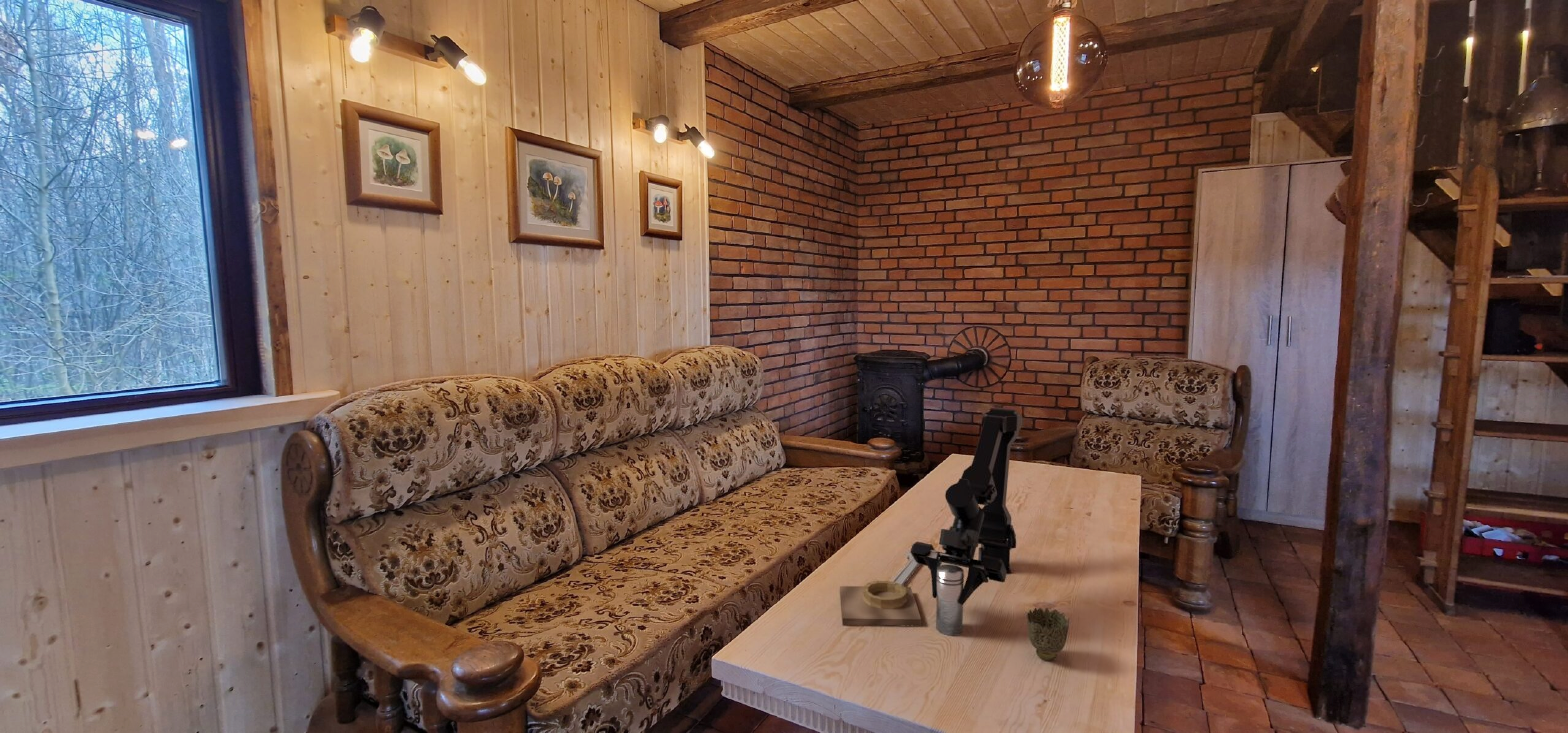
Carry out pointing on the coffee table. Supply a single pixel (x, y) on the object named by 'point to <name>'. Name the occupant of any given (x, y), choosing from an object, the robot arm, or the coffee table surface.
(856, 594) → the ring seat
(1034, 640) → the cup
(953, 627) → the silver metal cylinder
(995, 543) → the robot arm
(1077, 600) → the coffee table surface
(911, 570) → the adjustable wrench
